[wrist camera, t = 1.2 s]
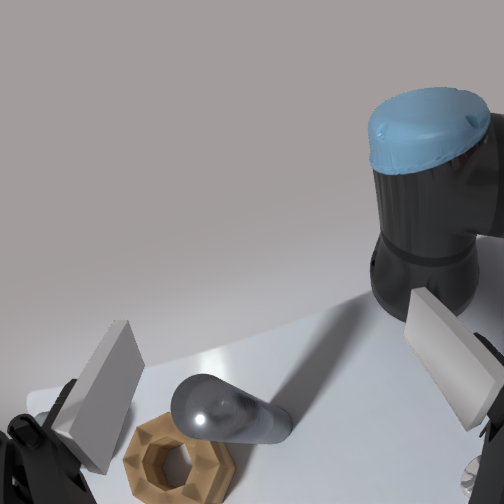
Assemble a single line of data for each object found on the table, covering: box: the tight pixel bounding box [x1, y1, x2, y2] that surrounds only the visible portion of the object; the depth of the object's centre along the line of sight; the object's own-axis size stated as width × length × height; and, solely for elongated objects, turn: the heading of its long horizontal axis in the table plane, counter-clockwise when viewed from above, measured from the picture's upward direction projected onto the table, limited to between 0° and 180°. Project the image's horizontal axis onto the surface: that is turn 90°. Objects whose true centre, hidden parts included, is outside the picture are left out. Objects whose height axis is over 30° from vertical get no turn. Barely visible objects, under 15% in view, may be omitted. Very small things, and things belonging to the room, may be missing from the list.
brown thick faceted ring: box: [123, 412, 236, 504], centre depth 26 cm, size 12×12×4 cm
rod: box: [171, 374, 292, 444], centre depth 22 cm, size 4×4×16 cm
